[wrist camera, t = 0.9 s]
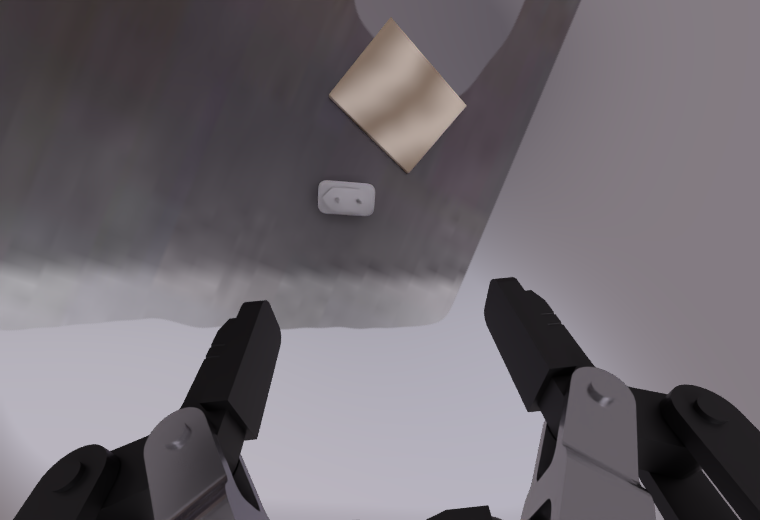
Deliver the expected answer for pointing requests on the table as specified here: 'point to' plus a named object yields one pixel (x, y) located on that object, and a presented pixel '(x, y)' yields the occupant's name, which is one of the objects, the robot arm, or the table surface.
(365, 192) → the power adapter
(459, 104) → the birch board
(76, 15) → the table surface
